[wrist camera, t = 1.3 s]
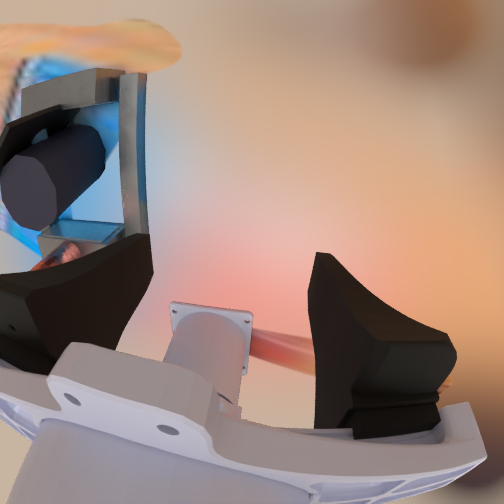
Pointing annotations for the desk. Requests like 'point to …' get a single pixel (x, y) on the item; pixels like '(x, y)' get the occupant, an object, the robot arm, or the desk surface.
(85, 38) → the desk surface
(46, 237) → the jaw slide
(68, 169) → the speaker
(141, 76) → the vise body
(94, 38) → the desk surface
